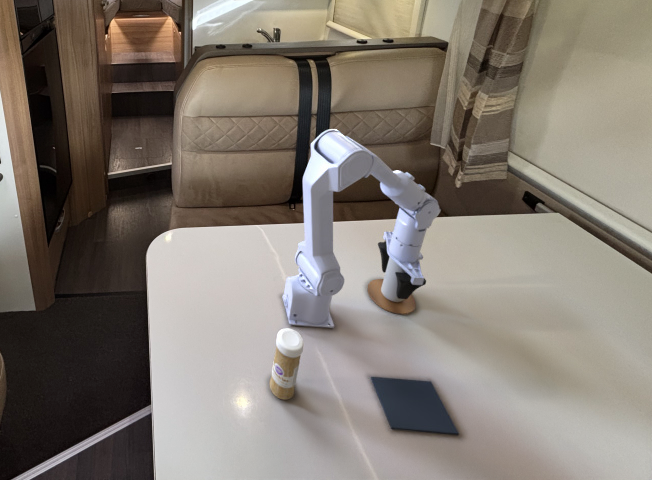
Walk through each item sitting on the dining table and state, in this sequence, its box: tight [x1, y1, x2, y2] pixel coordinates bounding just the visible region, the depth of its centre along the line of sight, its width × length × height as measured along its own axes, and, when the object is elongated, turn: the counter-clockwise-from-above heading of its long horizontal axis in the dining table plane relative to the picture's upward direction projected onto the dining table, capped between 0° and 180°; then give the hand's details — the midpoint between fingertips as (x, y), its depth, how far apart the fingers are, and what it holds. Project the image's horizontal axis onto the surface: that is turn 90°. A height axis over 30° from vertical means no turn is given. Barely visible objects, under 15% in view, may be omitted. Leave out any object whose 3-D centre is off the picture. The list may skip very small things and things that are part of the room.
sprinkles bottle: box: [269, 327, 305, 401], centre depth 78 cm, size 5×5×14 cm
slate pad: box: [370, 376, 460, 436], centre depth 77 cm, size 11×9×1 cm
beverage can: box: [381, 257, 406, 302], centre depth 97 cm, size 5×5×12 cm
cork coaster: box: [366, 278, 417, 316], centre depth 100 cm, size 10×10×1 cm
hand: (394, 284), depth 98 cm, fingers open, 7 cm apart
